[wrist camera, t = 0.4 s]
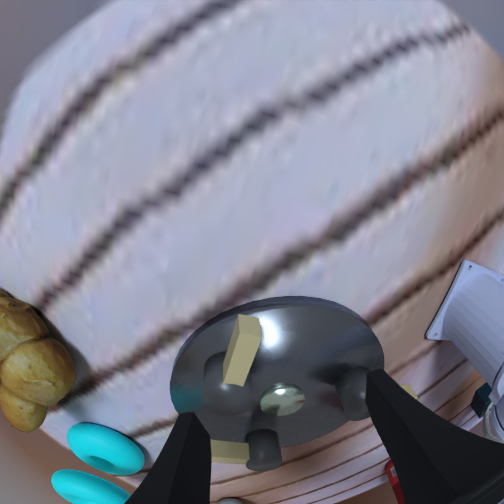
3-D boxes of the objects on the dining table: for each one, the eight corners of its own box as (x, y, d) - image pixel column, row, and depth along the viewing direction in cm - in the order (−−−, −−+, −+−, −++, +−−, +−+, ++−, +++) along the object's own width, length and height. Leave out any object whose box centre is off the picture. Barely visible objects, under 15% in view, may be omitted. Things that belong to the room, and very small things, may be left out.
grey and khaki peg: (243, 385, 20) (246, 418, 17) (200, 378, 19) (198, 412, 16) (272, 309, 17) (280, 342, 14) (221, 299, 17) (220, 331, 14)
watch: (497, 386, 30) (527, 425, 20) (463, 412, 31) (491, 457, 21) (503, 368, 28) (537, 410, 18) (467, 396, 29) (500, 445, 19)
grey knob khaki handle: (282, 429, 23) (287, 457, 20) (271, 445, 24) (275, 471, 21) (205, 422, 21) (204, 451, 19) (200, 438, 23) (199, 466, 20)
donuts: (117, 523, 19) (43, 490, 16) (127, 465, 28) (63, 432, 25) (151, 519, 17) (57, 481, 14) (160, 447, 26) (83, 407, 23)
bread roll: (-26, 290, 17) (-72, 333, 10) (13, 247, 16) (-52, 295, 9) (48, 387, 22) (21, 441, 15) (102, 369, 21) (74, 440, 14)
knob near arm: (328, 392, 21) (338, 421, 18) (345, 365, 20) (359, 394, 17) (391, 391, 22) (405, 416, 19) (409, 367, 21) (425, 391, 18)
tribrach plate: (411, 314, 21) (423, 328, 19) (326, 438, 27) (330, 452, 25) (190, 271, 18) (185, 286, 16) (165, 425, 24) (162, 441, 22)
